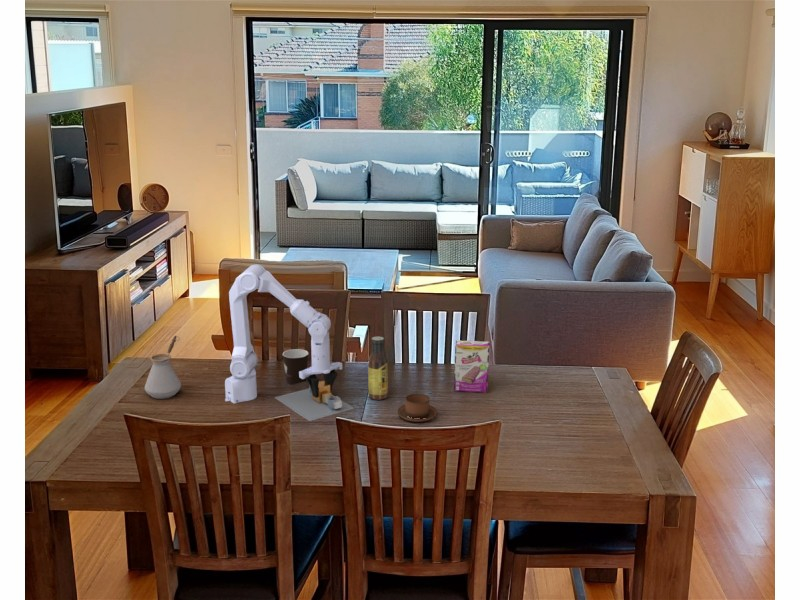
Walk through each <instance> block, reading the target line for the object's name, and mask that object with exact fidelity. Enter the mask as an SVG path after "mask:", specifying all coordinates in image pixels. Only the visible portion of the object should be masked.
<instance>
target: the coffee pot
mask: <svg viewBox="0 0 800 600" xmlns="http://www.w3.org/2000/svg"><path fill="white" fill-rule="evenodd" d="M172 338H173V339H172V340H171V343H170V344H169V347H168V350H167V352H166V353H158V354H153V355H151V356H150V357H149V360H150V361H151V362H152V365H151V368H150V371H149V373H148V376H147V380H146V382H145V385H144V391H145V392H146V394H147V395H149V396H151V397H152V398H153V399H156V400H157V399H158V400H165V399H170V398H172V397H175V395H176V394H177V393H178V392H179V391H180V390H181V388H182V383H181V381H180V378H179V377H178V375H177V374H176V372H175V370H174V368H173V366H172V365H171V363H170V361H171V360H172V356H171V355H170V353H171V352H172V350H173V348H174V346H175V343H176V341H177V338H178V340H180V339H181V338H180V337H179V336H177V335H174V336H173V337H172Z"/></svg>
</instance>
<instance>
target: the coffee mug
mask: <svg viewBox="0 0 800 600" xmlns="http://www.w3.org/2000/svg"><path fill="white" fill-rule="evenodd" d="M282 361H283V366H284V367H283V368H284V372H285V379H286V383H287V384H288V385H296V384H301V383H305V382H307V379H306V378H305V379H301V378H300V377H299V371H303V370H305V369H307V368H308V365H309V363H308V362H309V351H308V350H306V349H301V348H295V349H294V348H293V349H287V350H285V351H283V353H282Z"/></svg>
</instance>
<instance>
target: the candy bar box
mask: <svg viewBox="0 0 800 600" xmlns="http://www.w3.org/2000/svg"><path fill="white" fill-rule="evenodd" d="M490 348H491V347H490V341H482V340H481V341H480V340H458V339H457V340H456V339H455V347H454V371H453V372H454V374H453V391H454V392H461V393H462V392H465V393H481V394H482V393H483V394H484V393H485V394H487V393H488V391H489V388H488V387H489V370H490V369H489V368H490V364H489V363H490Z"/></svg>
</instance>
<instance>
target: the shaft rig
mask: <svg viewBox="0 0 800 600" xmlns="http://www.w3.org/2000/svg"><path fill="white" fill-rule="evenodd" d="M319 382H321V380H319ZM309 388H310V393H311V392H312V390H311V387H310V386H309ZM312 395H313V394H312ZM322 398H323V403H327V404H328V409H330V410H331V411H333V410H336V409H340V408H341V407H342V401H343V400H341V397H339V396H338V395H336V396H335V395H333V394H332V391H331V392H328V393H325V394H322Z"/></svg>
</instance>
